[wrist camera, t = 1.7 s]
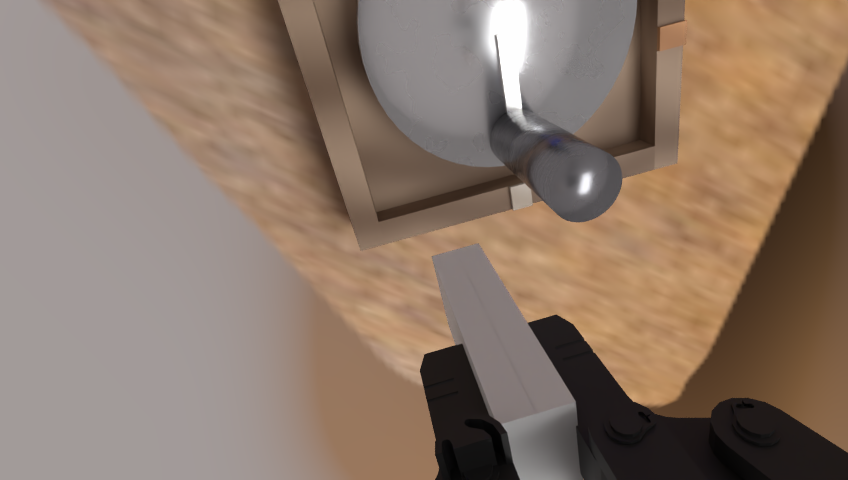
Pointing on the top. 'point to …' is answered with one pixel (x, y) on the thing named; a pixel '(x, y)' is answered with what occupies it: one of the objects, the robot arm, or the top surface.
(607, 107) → the dial panel
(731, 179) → the top surface
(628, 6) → the dial
